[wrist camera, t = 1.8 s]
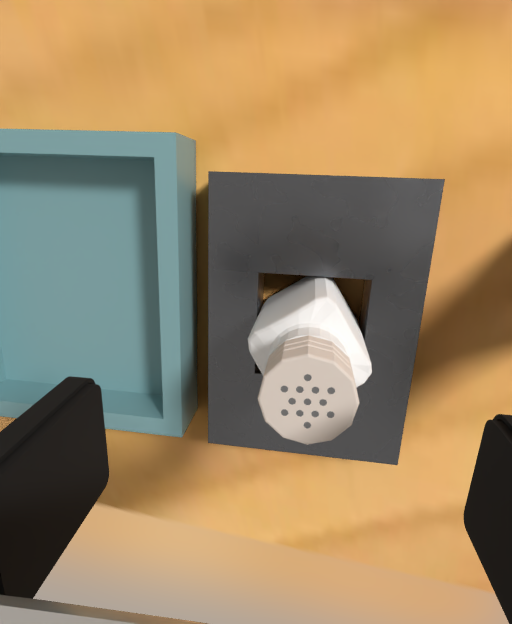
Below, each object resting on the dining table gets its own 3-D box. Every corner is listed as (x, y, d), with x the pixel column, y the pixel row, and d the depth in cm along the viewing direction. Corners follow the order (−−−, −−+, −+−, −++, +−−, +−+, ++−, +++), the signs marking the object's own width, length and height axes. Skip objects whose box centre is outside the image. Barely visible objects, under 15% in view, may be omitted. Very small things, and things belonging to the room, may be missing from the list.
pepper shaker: (297, 360, 23) (285, 473, 14) (259, 300, 22) (221, 377, 13) (362, 327, 22) (395, 426, 13) (325, 263, 21) (333, 319, 12)
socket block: (428, 180, 19) (444, 179, 17) (389, 436, 23) (397, 465, 21) (221, 173, 20) (208, 171, 18) (218, 418, 24) (208, 442, 22)
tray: (195, 140, 20) (175, 132, 17) (197, 408, 24) (182, 437, 22) (-41, 134, 22) (-95, 126, 19) (1, 387, 26) (-38, 411, 23)
